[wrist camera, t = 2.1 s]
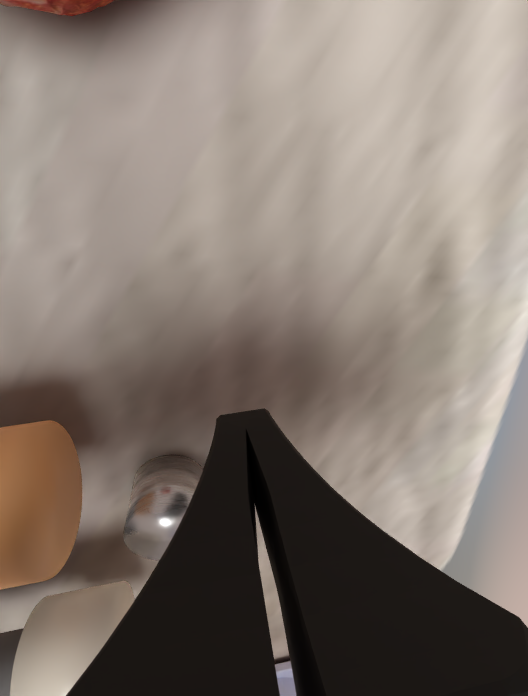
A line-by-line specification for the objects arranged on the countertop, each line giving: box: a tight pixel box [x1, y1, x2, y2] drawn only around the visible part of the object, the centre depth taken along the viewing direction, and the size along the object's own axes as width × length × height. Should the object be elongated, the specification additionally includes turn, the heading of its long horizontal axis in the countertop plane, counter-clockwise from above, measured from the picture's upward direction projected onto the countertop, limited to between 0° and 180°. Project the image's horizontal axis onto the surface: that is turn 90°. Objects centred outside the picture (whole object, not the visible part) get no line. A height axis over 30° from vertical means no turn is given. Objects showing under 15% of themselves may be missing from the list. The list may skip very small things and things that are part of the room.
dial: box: [124, 455, 203, 560], centre depth 13 cm, size 3×3×2 cm
